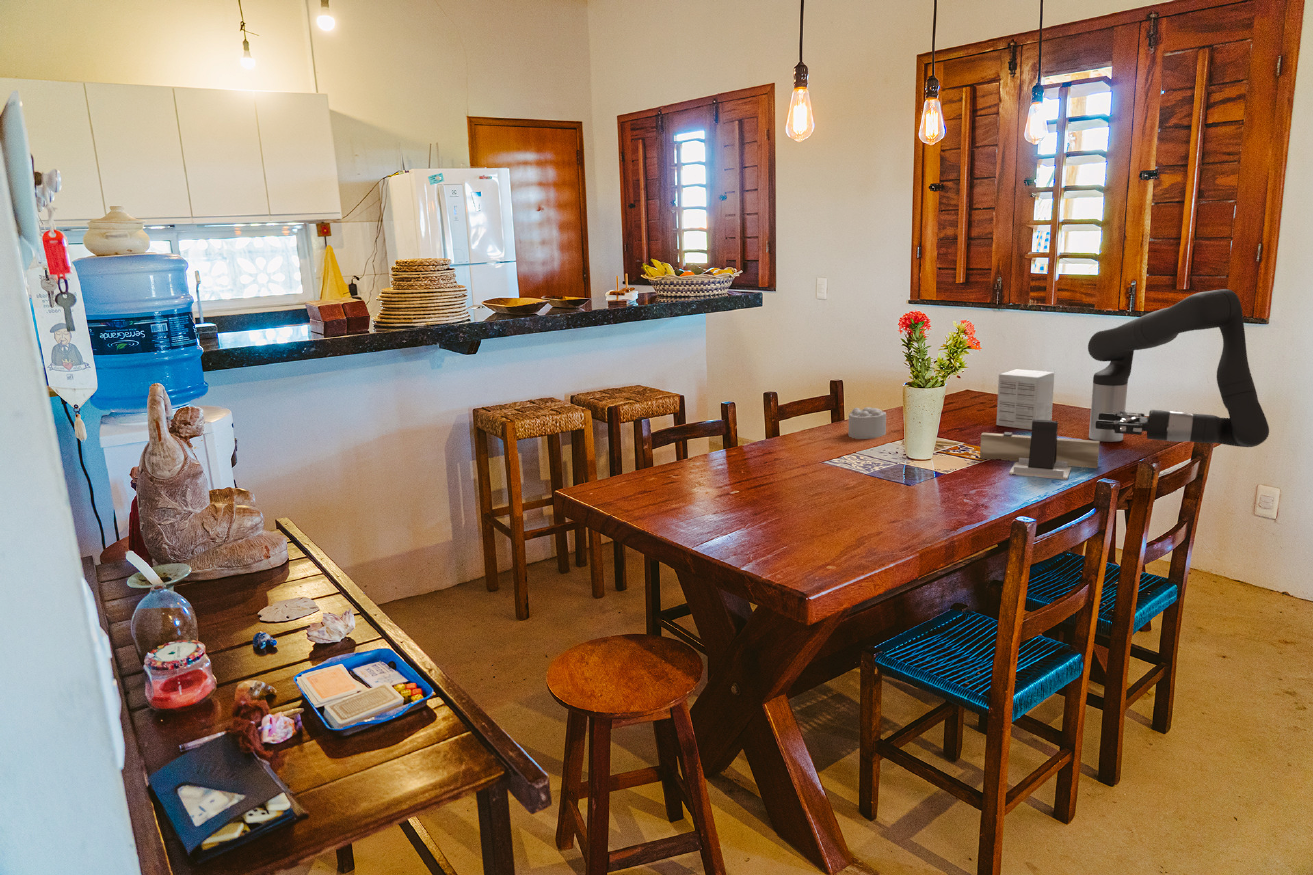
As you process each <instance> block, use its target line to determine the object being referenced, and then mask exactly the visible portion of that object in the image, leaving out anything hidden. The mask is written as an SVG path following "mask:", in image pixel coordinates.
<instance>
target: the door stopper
mask: <svg viewBox="0 0 1313 875" xmlns="http://www.w3.org/2000/svg"><path fill="white" fill-rule="evenodd" d="M1058 425H1059V423H1058V421H1057V420H1052V421H1047V420H1033V421H1032V430H1031V434H1030V436H1031V443H1030V453H1029V463H1028V467H1033V468H1044V469H1053V468H1054V465H1055V463H1056V455H1057V438H1058Z"/></svg>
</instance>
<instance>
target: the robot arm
mask: <svg viewBox="0 0 1313 875" xmlns="http://www.w3.org/2000/svg"><path fill="white" fill-rule="evenodd" d="M1243 314H1244V313H1243V309H1242V304H1241V301H1240V298H1239V296H1238V295H1237V294H1236V293H1235V292H1234V291H1233V290H1232V289H1226V288H1223V289H1216V290H1209V291H1208V290H1207V291H1201V292H1197V293H1194V294H1191V295H1189V296H1187V297H1185V298H1184V299H1182V300H1180V301H1179V302H1177V303H1175V304H1174V305H1171V306H1169V307H1165V308H1161V309H1159V310H1155V311H1152V312H1149V313H1146V314H1144V315H1142V316H1139V317H1138V318H1135V319H1133V320H1131V321H1129V322H1128V321H1127V322H1126V323H1124V324H1121V325H1119V326H1117V327H1114V328H1113V327H1112V328H1109V329H1104V330H1098V331H1097V332H1096V333H1094V334H1093V335H1092V336H1091V337H1090V339H1089V341H1088V345H1087V351H1088V354H1089V355H1090V357H1091V358H1092V359H1094V360H1095V361H1097V362H1110V363H1109V364H1108V365H1107V366H1106V367H1105V368H1103V369H1102V370H1099V371H1097V372H1095V373H1094V374H1093V377H1092V378H1093V379H1092V391H1091V392H1092V394H1091V403H1090V420H1089V428H1088V429H1089V431H1088V438H1089V439H1090V440H1092V441H1100V442H1110V443H1113V442H1121V441H1123V440H1124V434H1125V435H1135V436H1136V435H1138V436H1141V435H1142V434H1143V432H1146V439H1147V440H1155V441H1163V442H1164V441H1167V442H1176V443H1177V442H1180V443H1181V442H1183V443H1184V442H1192V443H1202V444H1204V443H1205V444H1220V445H1226V446H1232V447H1239V448H1253V447H1257V446H1259V445H1260V444H1263V443H1265V441H1266V440H1267V439H1268V438H1269V435H1270V427H1269V424H1268V420H1267V419H1266V414H1265V413H1264V410H1263V408H1262V406H1261V404H1260V402H1259V398H1258V394H1257V393H1258V392H1257V390H1256V386H1255V383H1254V380H1253V377H1252V373H1251V369H1250V366H1249V365H1250V364H1249V360H1248V354H1247V353H1248V352H1247V343H1246V332H1245V325H1244V315H1243ZM1215 328H1217V329H1218V328H1219V330H1220V333H1221V336H1222V350H1221V354H1220V359H1219V362H1218V365H1217V370H1216V382H1217V387H1218V390H1219V394H1220V396H1221V401H1222V403H1223V405H1224V407H1225V409H1226V411H1227V412H1228V413H1227V414H1228V415H1229V416H1228V417H1220V416H1217V415H1214V414H1203V413H1191V412H1184V411H1177V410H1176V411H1175V410H1163V409H1162V410H1159V409H1151V410H1149V413H1148V417H1147V416H1145V415H1146V414H1145V413H1143V412H1141V413H1140V412H1132V411H1131V412H1129V411H1128V412H1127V411H1126V407H1127V398H1128V396H1127V394H1128V385H1129V384H1128V382H1129V378H1130V375H1131V372H1132V366H1133V359H1134V354H1135V351H1138V350H1139V351H1141V350H1147V349H1151V348H1152V349H1153V348H1156V347H1159V346H1162V345H1166V344H1168V343H1169V342H1172V341H1173V340H1175V339H1176V338H1177V336H1178V335H1179V334H1182V333H1186V332H1191V331H1192V332H1193V331H1201V330H1209V329H1215Z"/></svg>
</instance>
